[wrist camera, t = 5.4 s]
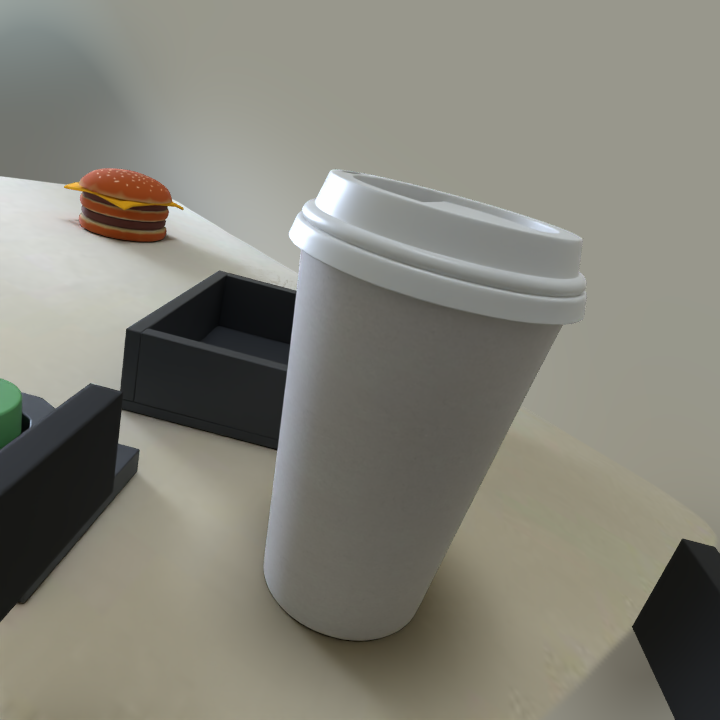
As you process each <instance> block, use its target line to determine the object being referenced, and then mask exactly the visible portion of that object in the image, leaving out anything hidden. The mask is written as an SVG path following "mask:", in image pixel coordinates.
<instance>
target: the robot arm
mask: <svg viewBox="0 0 720 720" xmlns="http://www.w3.org/2000/svg"><path fill="white" fill-rule="evenodd" d="M122 399H123V392H121V391H117V390H114V389H110V388H106V387H102V386H98V385H94V384H91V383H90V384H89V385H87V386H86V387H85V388H83V389H82V390H81V391H79V392H78V393H77V394H75V395H74V396H72V397H71V398H70V399H68V400H67V401H66V402H64V403H63V404H62V405H60V406H59V407H57V408H56V409H55V410H53V411H52V412H51V413H49V414H48V415H47V416H45V417H44V418H42V419H41V420H40V421H38V422H37V423H36V424H34V425H33V426H32V427H30V428H29V429H27V430H26V431H25V432H23V433H22V434H21V435H19V436H18V437H17V438H15V439H14V440H12V441H11V442H10V443H8V444H7V445H6V446H4V447H3V448H2V449H0V622H1V621H2V620H3V618H4V617H5V616H6V615H7V614H8V613H9V611H10V610H11V609H12V608H13V607H14V606H15V605H16V603H17V602H18V601H19V600H20V599H21V598H22V596H23V595H24V594H25V593H26V592H27V591H28V590H29V588H30V587H31V586H32V585H33V584H34V583H35V581H36V580H37V579H38V578H39V577H40V576H41V575H42V573H43V572H44V571H45V570H46V569H47V568H48V566H49V565H50V564H51V563H52V562H53V561H54V560H55V558H56V557H57V556H58V555H59V554H60V553H61V551H62V550H63V549H64V548H65V547H66V546H67V544H68V543H69V542H70V541H71V540H72V539H73V538H74V536H75V535H76V534H77V533H78V532H79V531H80V529H81V528H82V527H83V526H84V525H85V524H86V523H87V521H88V520H89V519H90V518H91V517H92V516H93V514H94V513H95V512H96V511H97V510H98V509H99V508H100V506H101V505H102V504H103V503H104V502H105V501H106V499H107V498H108V497H109V496H110V495H111V494H112V493H113V488H114V478H115V468H116V459H117V449H118V439H119V429H120V419H121V409H122ZM632 628H633V630H634V632H635V634H636V636H637V638H638V641H639V643H640V645H641V647H642V649H643V651H644V654H645V656H646V658H647V660H648V662H649V664H650V667H651V669H652V671H653V673H654V675H655V677H656V679H657V682H658V684H659V686H660V688H661V690H662V692H663V694H664V696H665V699H666V701H667V703H668V705H669V707H670V710H671V712H672V714H673V716H674V718H675V720H720V553H719V552H718V551H717V549H716V548H715V547H713V546H709V545H705V544H701V543H697V542H694V541H690V540H686V539H682V540H681V542H680V543H679V545H678V547H677V549H676V551H675V552H674V554H673V556H672V558H671V559H670V561H669V563H668V565H667V566H666V568H665V570H664V572H663V573H662V575H661V577H660V579H659V580H658V582H657V584H656V586H655V587H654V589H653V591H652V593H651V594H650V596H649V598H648V600H647V601H646V603H645V605H644V607H643V608H642V610H641V612H640V614H639V616H638V617H637V619H636V621H635V623H634V624H633V626H632Z"/></svg>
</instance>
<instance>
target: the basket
mask: <svg viewBox="0 0 720 720" xmlns="http://www.w3.org/2000/svg"><path fill="white" fill-rule="evenodd" d="M296 293H297V291H295V290H291V289H288V288H284V287H280V286H276V285H273V284H269V283H265V282H261V281H257V280H254V279H250V278H246V277H242V276H239V275H235V274H231V273H227V272H223V271H218V272H216V273H215V274H213V275H211V276H210V277H208V278H207V279H205V280H203V281H202V282H200V283H199V284H197V285H195V286H194V287H192V288H191V289H189V290H187V291H186V292H184V293H183V294H181V295H180V296H178V297H176V298H175V299H173V300H172V301H170V302H168V303H167V304H165V305H164V306H162V307H160V308H159V309H157V310H156V311H154V312H152V313H151V314H149V315H148V316H146V317H145V318H143V319H141V320H140V321H138V322H137V323H135V324H133V325H132V326H130V327H129V328H127V329H126V337H125V348H124V358H123V368H122V378H121V389H120V391H121V392H123V399H122V409H125V410H129V411H133V412H137V413H141V414H144V415H148V416H152V417H156V418H160V419H163V420H167V421H171V422H175V423H179V424H182V425H186V426H190V427H194V428H198V429H201V430H205V431H209V432H213V433H217V434H220V435H224V436H228V437H232V438H236V439H239V440H243V441H247V442H251V443H255V444H259V445H262V446H266V447H270V448H274V449H278V442H279V434H280V426H281V418H282V410H283V402H284V394H285V386H286V377H287V369H288V361H289V353H290V344H291V336H292V327H293V319H294V310H295V301H296Z"/></svg>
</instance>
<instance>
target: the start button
mask: <svg viewBox="0 0 720 720" xmlns="http://www.w3.org/2000/svg"><path fill="white" fill-rule="evenodd" d="M21 424H22V394H21V391H20V390H19V388H18V387H17V386H15V385H14V384H13V383H11V382H9V381H6V380H4V379H1V378H0V449H2V448H3V447H4V446H6V445H7V444H8V443H10V442H11V441H12V440H14V439H15V438H17V437H18V436H19V435H21Z"/></svg>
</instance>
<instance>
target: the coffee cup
mask: <svg viewBox="0 0 720 720" xmlns="http://www.w3.org/2000/svg"><path fill="white" fill-rule="evenodd" d="M289 237H290V239H291V240H292V242H293V243H294V244H295V245H296V246H297V247H299V248H300V249H301V256H300V265H299V275H298V284H297V293H296V301H295V310H294V319H293V327H292V336H291V344H290V353H289V361H288V369H287V377H286V386H285V394H284V402H283V410H282V418H281V426H280V434H279V442H278V451H277V459H276V467H275V475H274V483H273V491H272V499H271V507H270V515H269V523H268V531H267V539H266V547H265V555H264V575H265V580H266V583H267V585H268V588H269V590H270V592H271V594H272V595H273V597H274V598H275V600H276V601H277V602H278V604H279V605H280V606H281V607H282V608H283V609H284V610H285V611H286V612H287V613H288V614H289V615H290V616H292V617H293V618H294V619H295V620H297V621H298V622H300V623H301V624H303V625H305V626H306V627H308V628H310V629H312V630H314V631H317V632H319V633H322V634H324V635H327V636H331V637H335V638H339V639H345V640H356V641H363V640H373V639H378V638H382V637H386V636H388V635H391V634H393V633H395V632H397V631H399V630H400V629H402V628H403V627H404V626H405V625H407V624H408V623H409V622H410V620H411V619H412V618H413V616H414V615H415V613H416V611H417V609H418V608H419V606H420V604H421V602H422V600H423V598H424V596H425V594H426V592H427V590H428V588H429V586H430V584H431V582H432V580H433V578H434V576H435V574H436V572H437V570H438V568H439V566H440V564H441V562H442V560H443V558H444V556H445V554H446V552H447V550H448V548H449V546H450V544H451V542H452V540H453V538H454V536H455V534H456V532H457V530H458V528H459V526H460V524H461V522H462V520H463V518H464V516H465V514H466V512H467V511H468V509H469V507H470V505H471V503H472V501H473V499H474V497H475V495H476V493H477V491H478V489H479V487H480V485H481V483H482V481H483V479H484V477H485V475H486V473H487V471H488V469H489V467H490V465H491V463H492V461H493V459H494V457H495V455H496V453H497V451H498V449H499V447H500V445H501V443H502V441H503V439H504V438H505V436H506V434H507V432H508V430H509V428H510V426H511V424H512V422H513V420H514V418H515V416H516V414H517V412H518V410H519V408H520V406H521V404H522V402H523V400H524V398H525V396H526V394H527V393H528V391H529V388H530V387H531V385H532V383H533V381H534V379H535V377H536V375H537V373H538V371H539V369H540V367H541V365H542V364H543V362H544V360H545V358H546V356H547V354H548V352H549V350H550V348H551V346H552V344H553V342H554V341H555V339H556V337H557V335H558V333H559V331H560V329H561V327H562V326H563V325H565V324H572V323H576V322H579V321H581V320H582V319H583V318H584V315H585V305H586V299H587V294H586V292H585V289H586V279H585V277H584V276H583V275H582V274H581V273H580V272H579V267H580V258H581V251H582V238H581V237H579V236H578V235H576V234H574V233H572V232H569V231H567V230H565V229H562V228H559V227H557V226H554V225H551V224H548V223H545V222H543V221H539V220H537V219H534V218H531V217H528V216H524V215H521V214H518V213H515V212H512V211H508V210H505V209H502V208H499V207H495V206H492V205H488V204H485V203H482V202H478V201H475V200H471V199H467V198H464V197H460V196H457V195H453V194H449V193H445V192H442V191H438V190H434V189H430V188H426V187H422V186H418V185H414V184H410V183H406V182H402V181H398V180H393V179H388V178H384V177H379V176H375V175H370V174H365V173H360V172H354V171H347V170H338V169H335V170H331V171H330V173H329V174H328V176H327V178H326V180H325V183H324V184H323V186H322V188H321V190H320V193H319V194H318V197H317V198H315V199H311V200H309V201H307V202H306V203H305V205H304V206H303V209H302V211H301V212H299V214H298V215H297V217H296V219H295V221H294V223H293V225H292V227H291V229H290V231H289Z"/></svg>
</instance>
